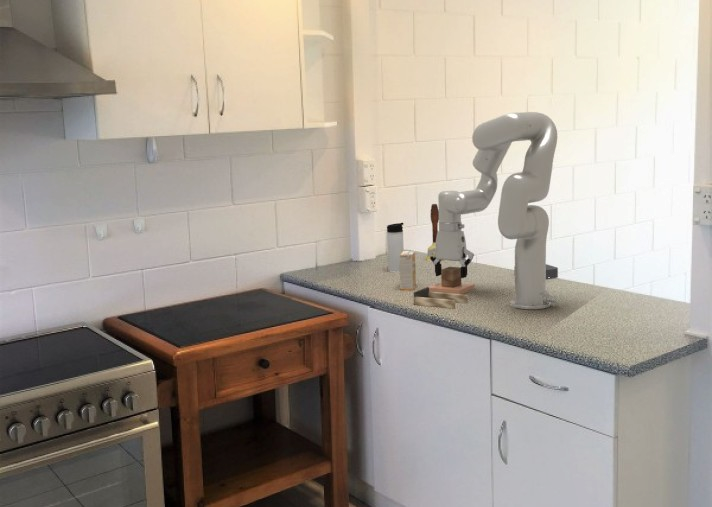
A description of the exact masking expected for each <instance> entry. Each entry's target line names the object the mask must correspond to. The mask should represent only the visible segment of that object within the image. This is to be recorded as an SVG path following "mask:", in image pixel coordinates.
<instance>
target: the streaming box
mask: <svg viewBox="0 0 712 507" xmlns="http://www.w3.org/2000/svg"><path fill="white" fill-rule="evenodd" d="M513 268H514V275H513V276H515V265H514V267H513ZM548 277H550V278H548ZM557 278H559V268H558V267H556V266H553V265H551V264H548V263H546V280H550V279H557Z"/></svg>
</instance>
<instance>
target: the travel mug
mask: <svg viewBox="0 0 712 507" xmlns="http://www.w3.org/2000/svg"><path fill="white" fill-rule="evenodd" d="M404 224H405V223H404V222H399V223H393V224H392V223H391V224H388V225H386V241H387V243H386V244H387V249H386V250H387V271H388V270H389V271H395V272H394V273H399V272H398V271H400V260H399V255H400V254H401V253H402V252H403V251H404V250H405V249H404V230H403V229H404V227H403V226H404ZM389 271H388V272H389Z"/></svg>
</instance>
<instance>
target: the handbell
mask: <svg viewBox="0 0 712 507" xmlns="http://www.w3.org/2000/svg"><path fill="white" fill-rule="evenodd" d="M430 208H431V209H430V222H431V227H432V228H431V230H432V244H431V245H430V246H428V248H427V257H426V259H427V260H431V259H430V257H429V255H428V251H430V250H432V249H434V248H435V247H436V237H437V232H438V231H439V206H438V203H432V204H431V207H430ZM433 254H434V256H435V257H436V252H434V253H433ZM426 259H425V260H426ZM441 262H445V261H444V260H442V261H441Z"/></svg>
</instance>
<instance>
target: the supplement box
mask: <svg viewBox="0 0 712 507" xmlns="http://www.w3.org/2000/svg"><path fill="white" fill-rule="evenodd" d="M399 260H400V272H399V281H400V282H399V284H400V286H399V288H400V291H414V289H415V288H416V286H417V277H416V276H417V274H416V271H417V270H416V268H417V267H416V266H417V265H416V250H405V251H403V252H402V253H401V254H400V255H399Z"/></svg>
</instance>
